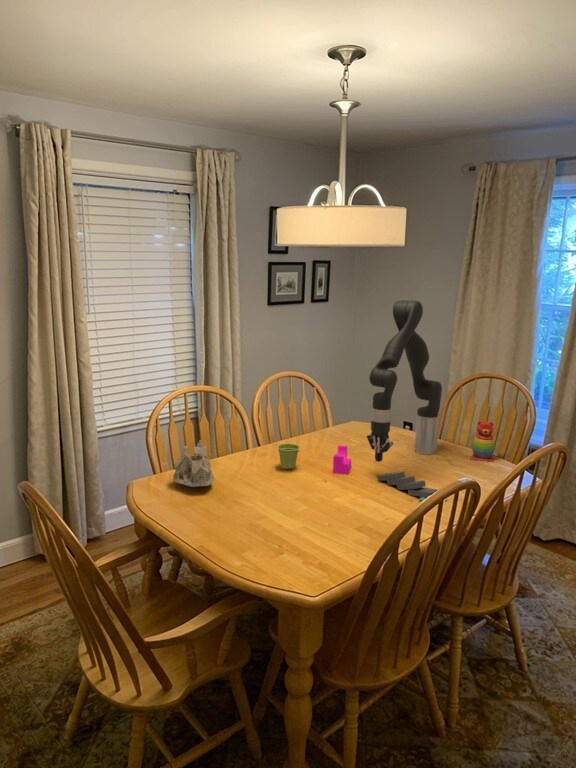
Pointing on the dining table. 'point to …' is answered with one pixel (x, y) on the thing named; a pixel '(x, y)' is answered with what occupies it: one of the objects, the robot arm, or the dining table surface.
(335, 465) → the toy block
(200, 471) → the ceramic cottage
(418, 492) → the domino
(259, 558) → the dining table surface
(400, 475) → the domino
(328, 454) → the dining table surface
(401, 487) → the domino
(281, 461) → the plant pot
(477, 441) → the stacking bear
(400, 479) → the domino
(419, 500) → the domino
